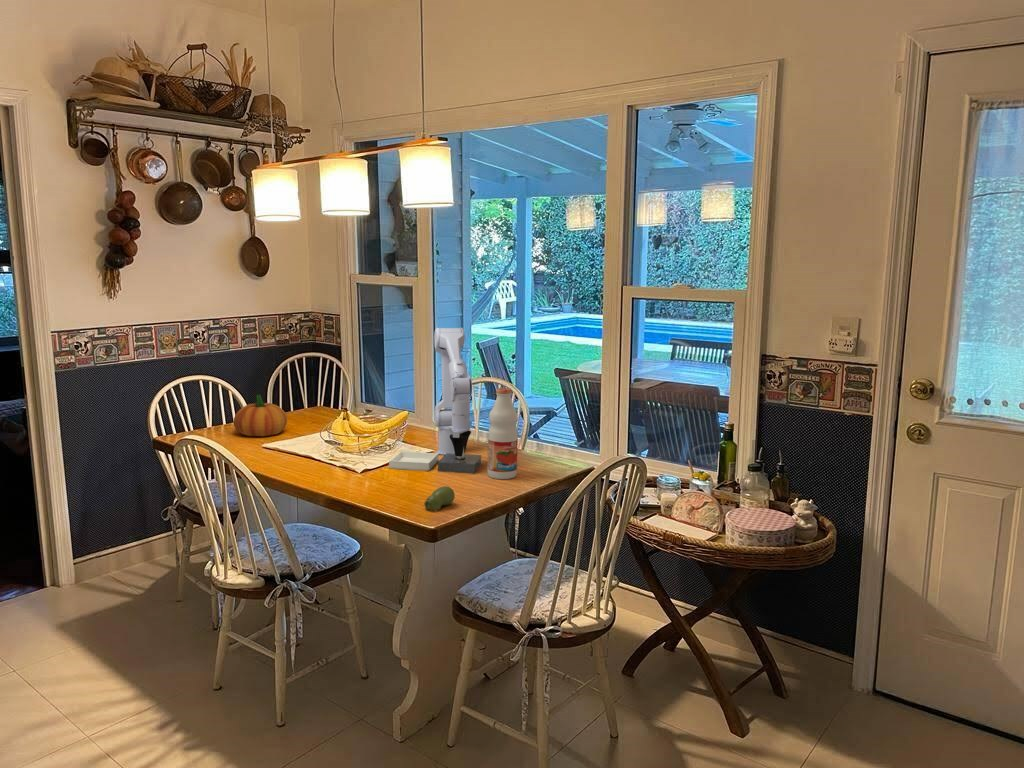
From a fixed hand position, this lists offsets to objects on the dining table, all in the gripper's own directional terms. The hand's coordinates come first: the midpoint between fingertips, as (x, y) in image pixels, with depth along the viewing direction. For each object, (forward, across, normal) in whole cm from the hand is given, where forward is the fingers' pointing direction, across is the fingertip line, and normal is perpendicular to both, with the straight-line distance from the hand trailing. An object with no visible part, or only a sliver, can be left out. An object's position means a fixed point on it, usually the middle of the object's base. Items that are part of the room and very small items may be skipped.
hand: (460, 454), depth 256 cm
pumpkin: (+5, -30, -84) cm, 89 cm away
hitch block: (+4, 0, 0) cm, 4 cm away
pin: (+4, 0, 0) cm, 4 cm away
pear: (+5, +41, +3) cm, 41 cm away
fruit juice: (+5, +6, +15) cm, 17 cm away
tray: (+4, 0, -16) cm, 16 cm away
